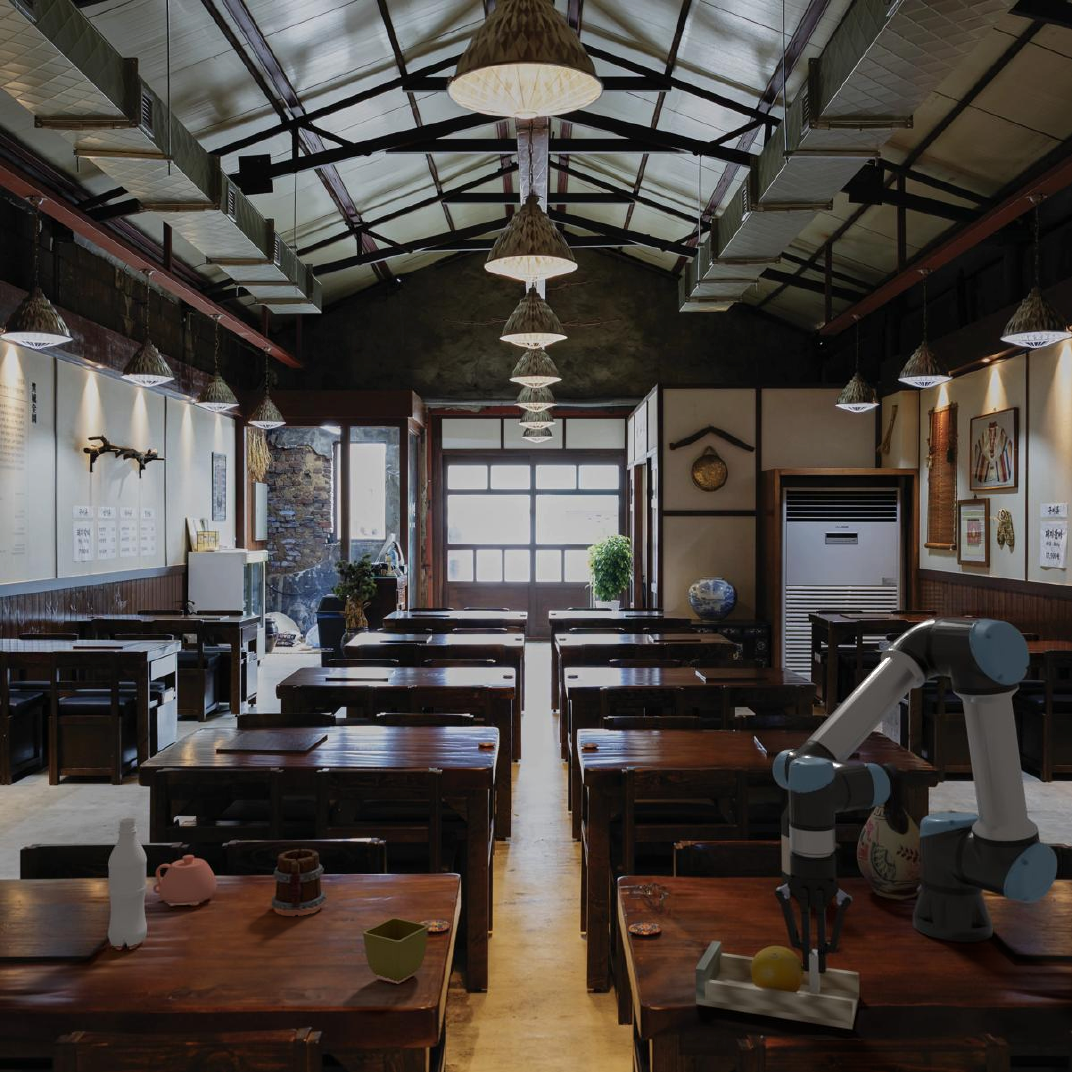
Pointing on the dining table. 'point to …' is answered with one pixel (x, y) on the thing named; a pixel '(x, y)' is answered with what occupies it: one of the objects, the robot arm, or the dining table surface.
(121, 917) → the water bottle
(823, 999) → the channel
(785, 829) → the wine bottle
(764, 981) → the fruit
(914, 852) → the ceramic jug
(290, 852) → the mug
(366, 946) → the flower pot
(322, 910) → the dining table surface
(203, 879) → the sugar bowl
